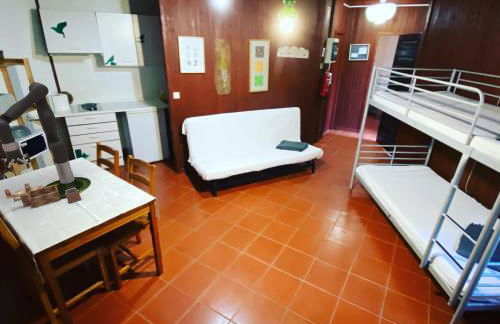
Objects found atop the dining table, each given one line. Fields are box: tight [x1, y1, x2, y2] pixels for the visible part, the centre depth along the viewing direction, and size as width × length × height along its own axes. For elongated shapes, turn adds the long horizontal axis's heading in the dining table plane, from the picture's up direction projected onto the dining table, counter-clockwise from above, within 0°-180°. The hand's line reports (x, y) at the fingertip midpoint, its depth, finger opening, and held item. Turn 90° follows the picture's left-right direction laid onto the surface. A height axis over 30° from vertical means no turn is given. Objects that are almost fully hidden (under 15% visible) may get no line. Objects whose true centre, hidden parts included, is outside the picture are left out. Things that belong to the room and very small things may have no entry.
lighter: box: [64, 187, 82, 204], centre depth 179 cm, size 8×3×10 cm, turn 134°
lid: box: [14, 182, 44, 201], centre depth 186 cm, size 16×12×6 cm
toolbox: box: [20, 184, 62, 209], centre depth 177 cm, size 20×12×8 cm, turn 131°
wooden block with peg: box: [3, 188, 23, 200], centre depth 167 cm, size 8×2×6 cm, turn 131°
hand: (20, 170), depth 179 cm, fingers open, 8 cm apart
